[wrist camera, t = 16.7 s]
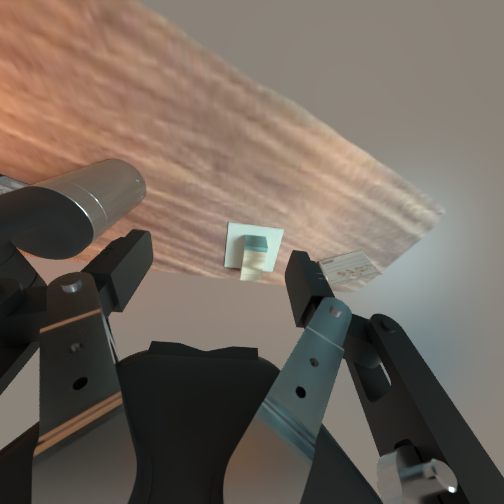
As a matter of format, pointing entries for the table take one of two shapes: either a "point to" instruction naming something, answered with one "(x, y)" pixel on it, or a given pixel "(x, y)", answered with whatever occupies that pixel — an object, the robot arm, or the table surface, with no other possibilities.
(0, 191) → the label tape box
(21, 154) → the table surface
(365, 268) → the ink cartridge box
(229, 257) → the mat
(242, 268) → the ash block
